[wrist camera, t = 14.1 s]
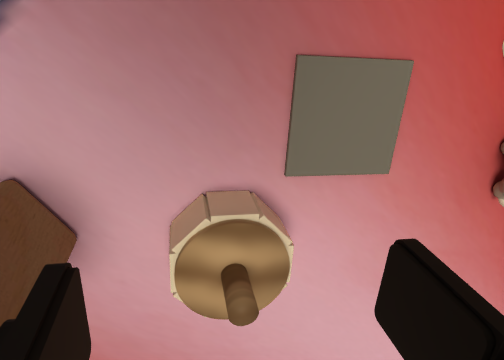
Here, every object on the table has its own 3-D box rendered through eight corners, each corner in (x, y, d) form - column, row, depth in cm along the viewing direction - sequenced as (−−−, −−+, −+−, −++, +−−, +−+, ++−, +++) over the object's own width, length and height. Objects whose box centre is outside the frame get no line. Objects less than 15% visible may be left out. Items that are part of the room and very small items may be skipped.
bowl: (168, 193, 41) (167, 218, 36) (282, 189, 44) (298, 211, 39) (172, 288, 47) (172, 322, 41) (273, 279, 50) (286, 310, 44)
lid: (172, 222, 36) (172, 263, 30) (292, 216, 39) (315, 252, 33) (175, 318, 41) (176, 371, 35) (282, 307, 44) (300, 354, 38)
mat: (296, 54, 38) (298, 55, 38) (411, 60, 41) (414, 60, 40) (284, 174, 44) (285, 176, 43) (386, 172, 46) (388, 173, 46)
